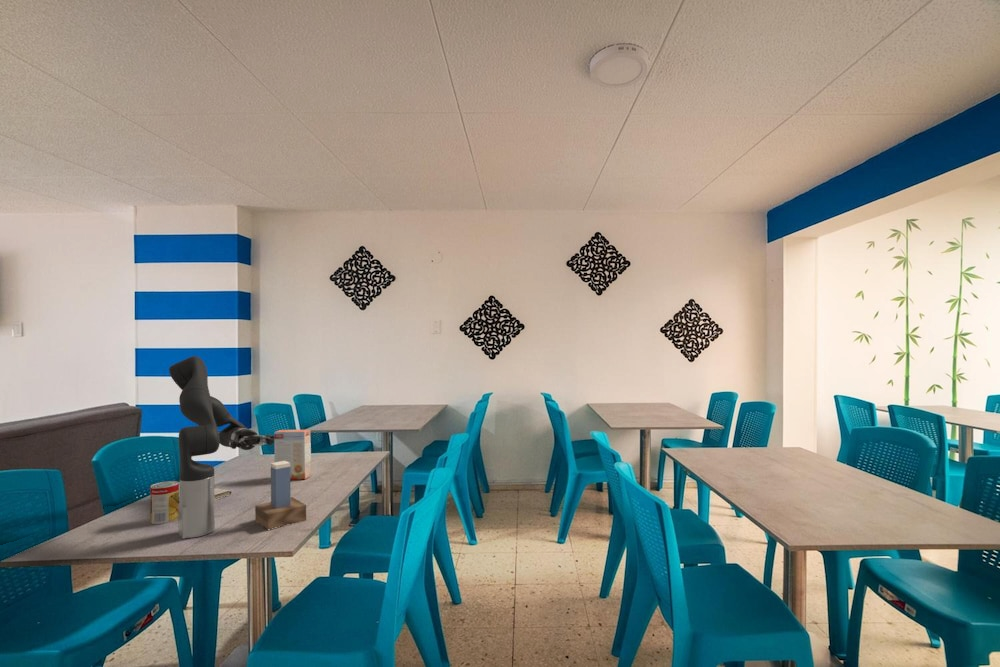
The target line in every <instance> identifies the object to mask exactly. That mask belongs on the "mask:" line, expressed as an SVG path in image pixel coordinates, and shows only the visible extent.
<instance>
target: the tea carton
mask: <svg viewBox="0 0 1000 667" xmlns="http://www.w3.org/2000/svg"><path fill="white" fill-rule="evenodd" d="M270 502H271V506H273V507H274V508H276V509H277V508H281V507H285V506H289V505H291V479H290V463H289V462H287V461H280V462H275V461H274V462H271V463H270Z"/></svg>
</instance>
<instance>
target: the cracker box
mask: <svg viewBox="0 0 1000 667" xmlns="http://www.w3.org/2000/svg"><path fill="white" fill-rule="evenodd" d="M273 436H274V443H273V444H274V447H273V448H274V449H273V450H274V452H273V453H274V463H275V462H280V461H287V462H289V463H290V480H301V479H304V480H307V479H308V478H310V477H311V476H312V454H311V453H312V448H311V447H312V446H311V444H312V443H311V441H312V440H311V429H280V430H276V431H274V435H273Z"/></svg>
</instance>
